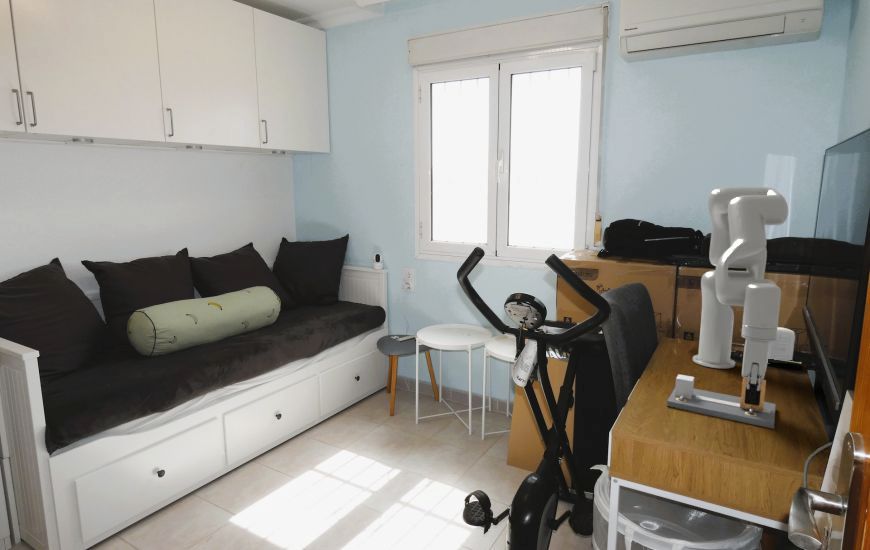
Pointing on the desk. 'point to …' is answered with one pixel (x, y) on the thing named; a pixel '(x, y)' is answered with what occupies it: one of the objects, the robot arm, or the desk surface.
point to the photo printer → (782, 345)
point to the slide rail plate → (717, 404)
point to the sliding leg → (762, 395)
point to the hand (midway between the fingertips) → (752, 400)
